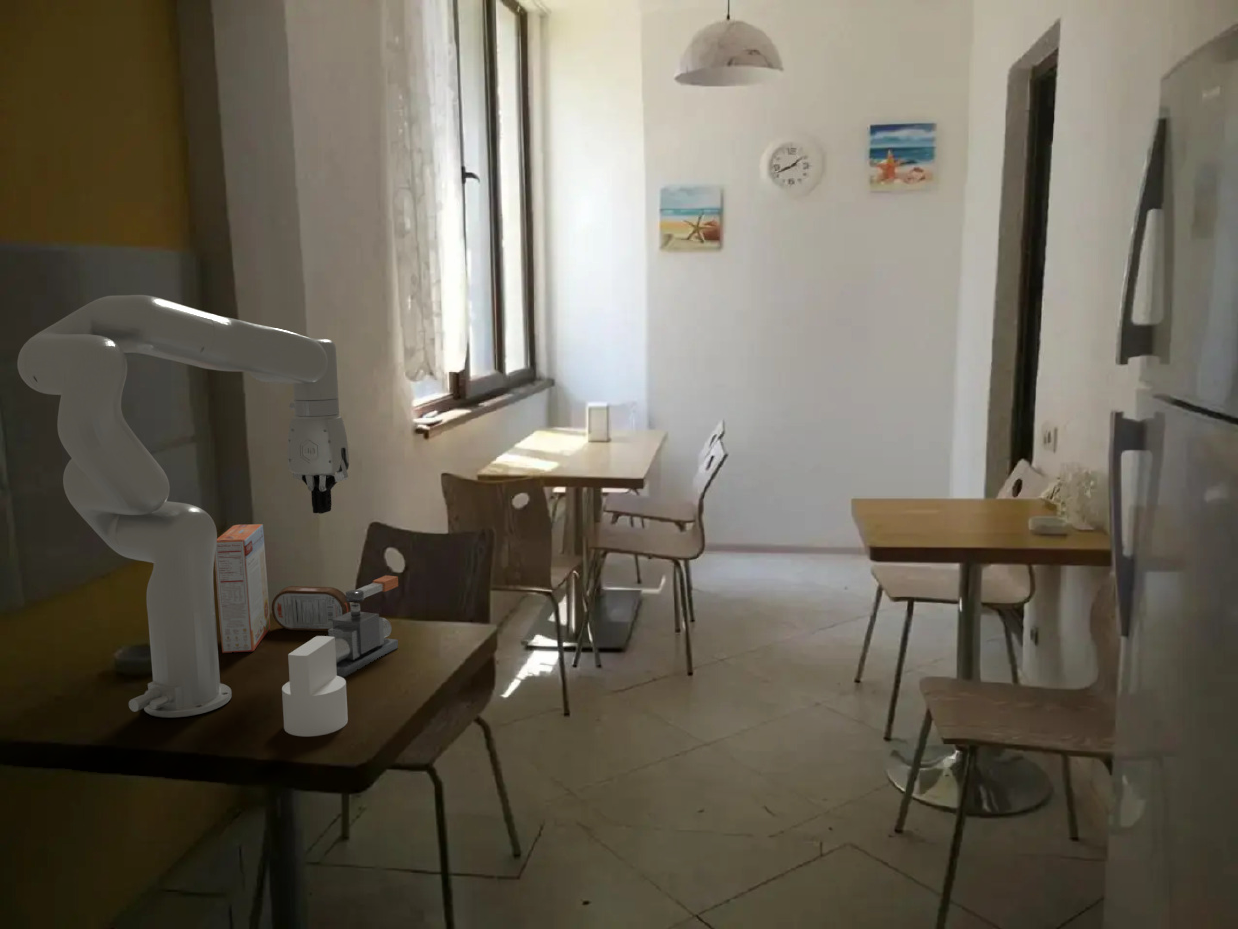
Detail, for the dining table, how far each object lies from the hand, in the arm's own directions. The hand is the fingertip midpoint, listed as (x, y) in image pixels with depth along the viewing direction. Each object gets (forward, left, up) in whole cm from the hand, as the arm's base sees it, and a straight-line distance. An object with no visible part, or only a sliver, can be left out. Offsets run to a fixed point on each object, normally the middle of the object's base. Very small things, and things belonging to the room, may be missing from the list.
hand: (322, 511), depth 180 cm
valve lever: (+1, -9, -14) cm, 17 cm away
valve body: (-4, -9, -25) cm, 27 cm away
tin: (+8, +10, -25) cm, 28 cm away
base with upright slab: (-30, -20, -25) cm, 44 cm away
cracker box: (-2, +17, -25) cm, 31 cm away
